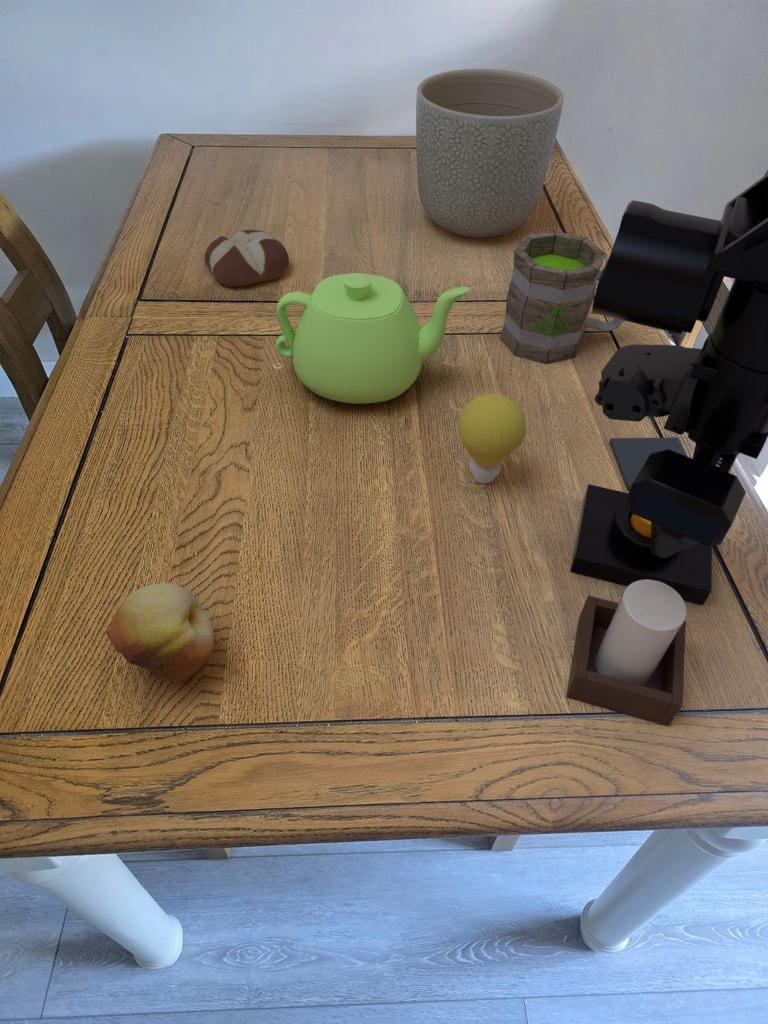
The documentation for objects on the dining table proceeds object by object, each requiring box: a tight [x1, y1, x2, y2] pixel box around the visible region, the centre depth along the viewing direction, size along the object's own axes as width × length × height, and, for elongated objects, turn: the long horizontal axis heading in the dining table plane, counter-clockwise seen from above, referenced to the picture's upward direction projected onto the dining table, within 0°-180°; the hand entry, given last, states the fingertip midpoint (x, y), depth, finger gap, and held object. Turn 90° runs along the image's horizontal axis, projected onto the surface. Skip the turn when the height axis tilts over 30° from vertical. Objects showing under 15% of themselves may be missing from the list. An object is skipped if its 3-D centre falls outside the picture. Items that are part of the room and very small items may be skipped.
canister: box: [595, 580, 688, 686], centre depth 56 cm, size 5×5×9 cm
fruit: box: [106, 582, 215, 683], centre depth 56 cm, size 8×8×8 cm
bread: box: [204, 229, 290, 288], centre depth 101 cm, size 11×11×5 cm
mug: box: [499, 230, 624, 365], centre depth 88 cm, size 16×11×12 cm
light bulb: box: [457, 393, 527, 485], centre depth 71 cm, size 7×7×10 cm
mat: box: [608, 436, 687, 492], centre depth 76 cm, size 8×8×1 cm
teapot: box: [275, 272, 470, 405], centre depth 81 cm, size 22×15×13 cm
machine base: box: [570, 483, 713, 606], centre depth 67 cm, size 12×10×4 cm
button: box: [631, 514, 651, 538], centre depth 65 cm, size 4×4×2 cm
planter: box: [415, 68, 565, 239], centre depth 107 cm, size 21×21×19 cm
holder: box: [565, 595, 687, 727], centre depth 58 cm, size 8×8×4 cm
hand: (677, 516), depth 55 cm, fingers open, 9 cm apart
